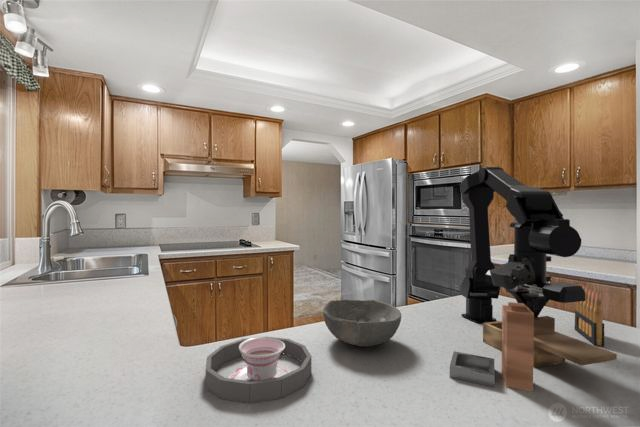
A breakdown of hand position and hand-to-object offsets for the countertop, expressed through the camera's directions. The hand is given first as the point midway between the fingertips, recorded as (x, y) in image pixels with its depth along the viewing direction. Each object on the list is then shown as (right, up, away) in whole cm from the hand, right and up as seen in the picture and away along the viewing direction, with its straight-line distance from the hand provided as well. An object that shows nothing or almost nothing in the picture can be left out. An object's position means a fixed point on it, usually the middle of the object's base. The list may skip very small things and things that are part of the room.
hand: (529, 325), depth 69 cm
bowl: (-34, -6, +7) cm, 35 cm away
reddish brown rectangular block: (-9, -6, -11) cm, 16 cm away
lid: (+2, -2, -6) cm, 7 cm away
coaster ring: (-55, -6, -8) cm, 56 cm away
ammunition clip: (+21, -7, +10) cm, 24 cm away
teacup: (-54, -7, -10) cm, 56 cm away
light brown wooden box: (0, -6, +2) cm, 7 cm away
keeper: (-15, -6, -8) cm, 18 cm away
